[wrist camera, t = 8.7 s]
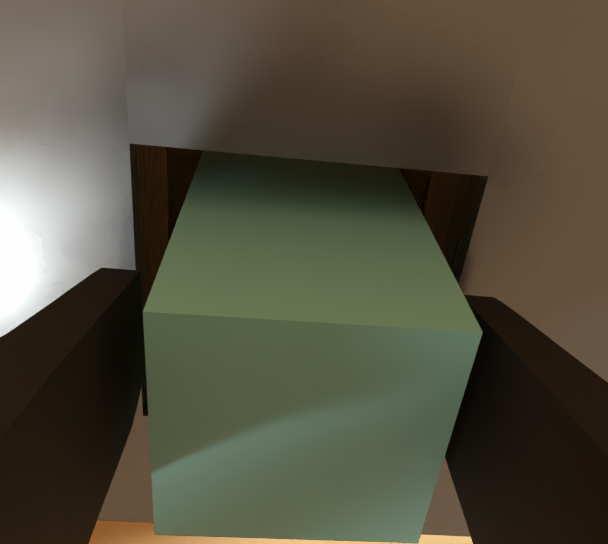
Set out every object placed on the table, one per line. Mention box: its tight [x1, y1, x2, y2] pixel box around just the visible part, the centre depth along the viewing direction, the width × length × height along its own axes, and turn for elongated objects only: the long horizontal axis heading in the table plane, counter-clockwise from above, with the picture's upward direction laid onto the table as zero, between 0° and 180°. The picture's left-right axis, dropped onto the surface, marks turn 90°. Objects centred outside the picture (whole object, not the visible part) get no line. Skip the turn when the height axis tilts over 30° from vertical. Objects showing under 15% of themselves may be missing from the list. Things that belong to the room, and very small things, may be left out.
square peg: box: [143, 150, 483, 543], centre depth 10 cm, size 4×4×6 cm
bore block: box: [0, 0, 608, 536], centre depth 12 cm, size 18×12×3 cm, turn 84°
